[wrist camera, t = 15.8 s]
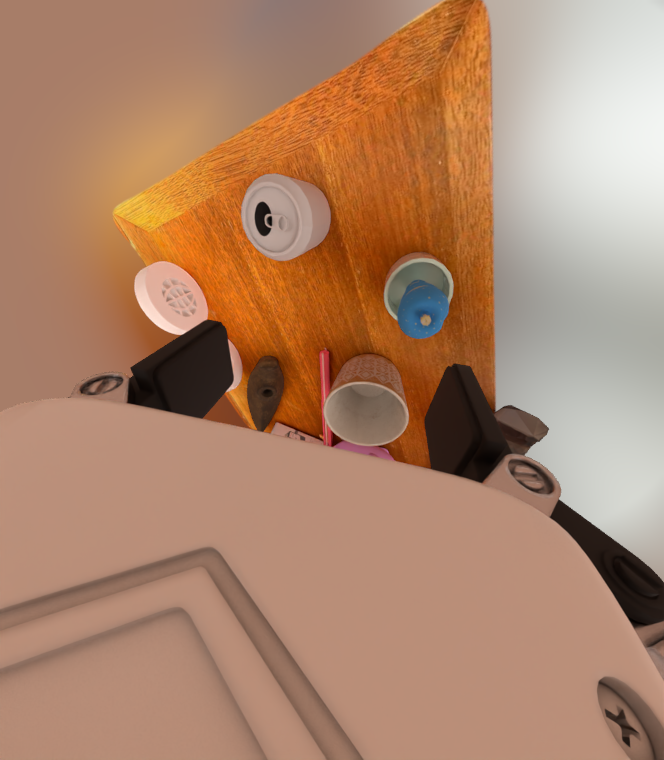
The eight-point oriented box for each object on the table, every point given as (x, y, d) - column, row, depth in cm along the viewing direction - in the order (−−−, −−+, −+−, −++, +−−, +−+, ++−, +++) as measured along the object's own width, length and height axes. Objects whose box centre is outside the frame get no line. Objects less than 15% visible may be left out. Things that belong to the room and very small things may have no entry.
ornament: (403, 309, 38) (408, 357, 26) (390, 276, 36) (389, 312, 23) (439, 293, 36) (463, 339, 24) (427, 257, 34) (448, 287, 21)
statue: (488, 415, 42) (441, 523, 57) (539, 440, 37) (473, 552, 52) (507, 401, 46) (459, 506, 61) (555, 423, 41) (490, 531, 56)
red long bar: (339, 452, 56) (318, 448, 57) (341, 445, 57) (321, 441, 58) (338, 355, 42) (311, 352, 43) (341, 349, 44) (315, 346, 45)
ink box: (308, 477, 59) (261, 458, 58) (314, 459, 63) (269, 441, 62) (319, 458, 54) (267, 437, 53) (325, 440, 57) (276, 420, 57)
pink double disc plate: (171, 261, 41) (116, 274, 33) (181, 256, 40) (128, 269, 32) (240, 373, 51) (212, 405, 43) (249, 371, 51) (222, 403, 43)
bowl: (392, 247, 34) (393, 253, 30) (455, 257, 33) (464, 264, 29) (379, 307, 39) (377, 319, 35) (434, 317, 38) (439, 330, 34)
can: (278, 177, 32) (229, 165, 23) (335, 186, 32) (311, 178, 22) (277, 243, 37) (237, 257, 27) (328, 252, 36) (305, 269, 26)
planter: (325, 389, 50) (312, 427, 41) (350, 335, 42) (340, 368, 34) (385, 414, 50) (383, 456, 42) (419, 365, 43) (426, 404, 34)
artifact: (312, 377, 47) (264, 436, 57) (304, 358, 50) (260, 418, 60) (265, 367, 41) (221, 435, 51) (260, 347, 44) (219, 415, 54)
